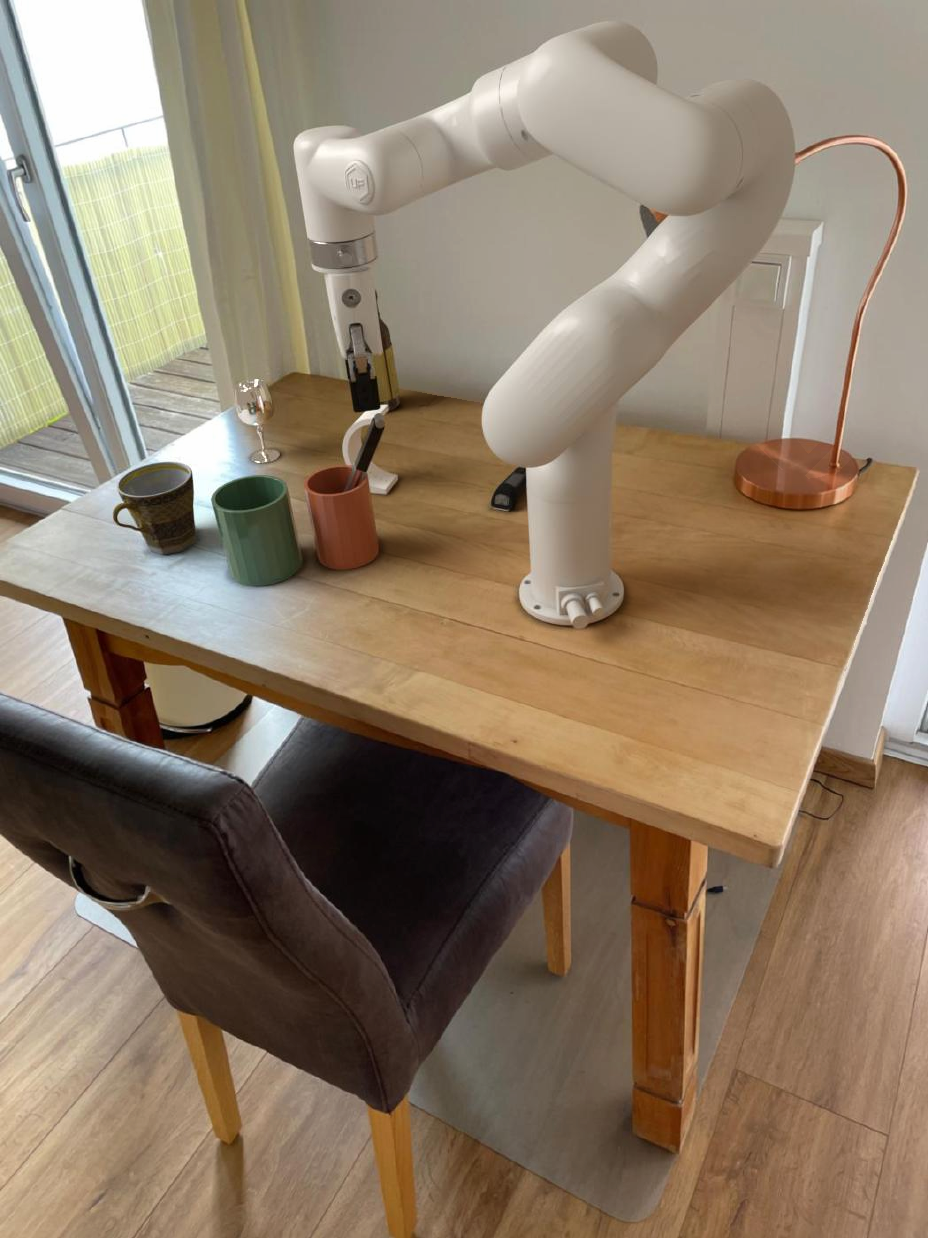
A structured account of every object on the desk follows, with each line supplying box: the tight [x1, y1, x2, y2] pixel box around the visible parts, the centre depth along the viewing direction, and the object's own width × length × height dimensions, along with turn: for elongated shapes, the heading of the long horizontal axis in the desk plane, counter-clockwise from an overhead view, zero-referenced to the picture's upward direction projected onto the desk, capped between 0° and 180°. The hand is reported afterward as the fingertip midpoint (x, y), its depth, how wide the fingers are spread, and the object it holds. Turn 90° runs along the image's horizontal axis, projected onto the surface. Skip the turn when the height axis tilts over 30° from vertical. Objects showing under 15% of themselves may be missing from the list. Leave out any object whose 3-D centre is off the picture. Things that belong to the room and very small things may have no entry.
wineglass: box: [234, 379, 281, 464], centre depth 156 cm, size 6×6×12 cm
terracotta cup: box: [303, 464, 380, 571], centre depth 131 cm, size 8×8×11 cm
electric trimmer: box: [490, 467, 527, 512], centre depth 144 cm, size 4×16×3 cm, turn 153°
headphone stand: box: [341, 405, 399, 495], centre depth 146 cm, size 5×6×12 cm
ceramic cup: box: [112, 461, 197, 556], centre depth 136 cm, size 13×10×10 cm
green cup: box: [210, 474, 303, 587], centre depth 130 cm, size 10×10×11 cm
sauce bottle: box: [371, 288, 401, 412], centre depth 166 cm, size 6×6×20 cm
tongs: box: [344, 413, 386, 492], centre depth 129 cm, size 2×10×18 cm, turn 100°
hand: (363, 393), depth 122 cm, fingers open, 9 cm apart
